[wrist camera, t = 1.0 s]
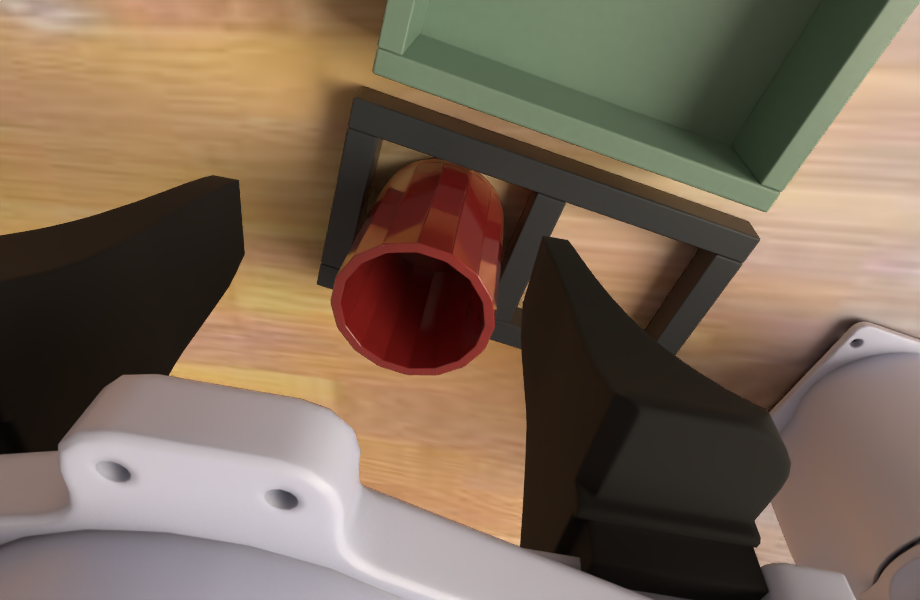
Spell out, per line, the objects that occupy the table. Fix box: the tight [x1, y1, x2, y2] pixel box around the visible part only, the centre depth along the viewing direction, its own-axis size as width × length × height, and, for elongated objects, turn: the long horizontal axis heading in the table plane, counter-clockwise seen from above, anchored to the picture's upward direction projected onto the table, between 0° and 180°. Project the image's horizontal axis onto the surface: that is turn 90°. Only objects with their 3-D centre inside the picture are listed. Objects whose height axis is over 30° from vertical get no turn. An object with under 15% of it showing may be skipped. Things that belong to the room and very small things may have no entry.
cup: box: [331, 158, 504, 375], centre depth 22 cm, size 6×6×7 cm
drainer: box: [317, 87, 760, 355], centre depth 24 cm, size 9×16×2 cm, turn 73°
